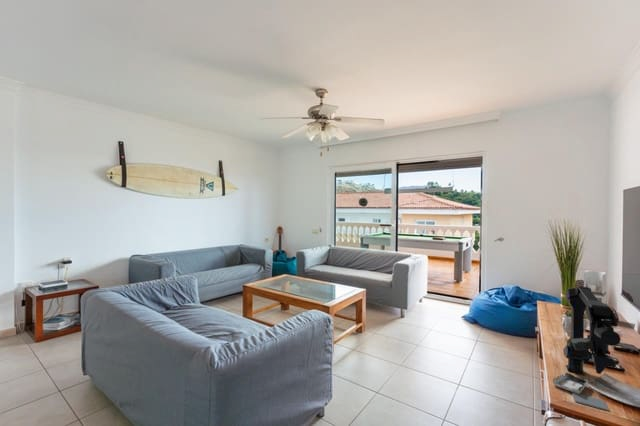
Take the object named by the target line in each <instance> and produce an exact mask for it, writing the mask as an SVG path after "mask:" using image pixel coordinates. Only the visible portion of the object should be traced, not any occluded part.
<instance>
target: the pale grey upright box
mask: <svg viewBox="0 0 640 426" xmlns="http://www.w3.org/2000/svg"><path fill="white" fill-rule="evenodd" d="M583 287H588V288H590V289H591V292H592V293H593V294H594V295H595V297H596V298H597V299H598V300H599V301H600V302H602V303H604V304H606V303H607V272H604V271H596V270H587V269H586V270H585V271H583ZM606 305H607V304H606ZM584 315H586V317H587V320H589V319H588V316H587V314H586V313H584Z"/></svg>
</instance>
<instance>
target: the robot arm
mask: <svg viewBox="0 0 640 426" xmlns="http://www.w3.org/2000/svg"><path fill="white" fill-rule="evenodd" d="M565 299H566V302H567V304H568V305H569V306H570V309H571V310H570V313H571V314H570V338H569V339H568V340H567V341H566V345H565V346H564V348H563V351H562V352H563V356H564V357H565V358H566V359H567V364H566V365H565V367H566V369H567V372H568V373H574V374H578V375H582V376H586V371H585V370H584V362H587V363H589V361H590V358H591V360H592V362H593V365H594V368H595V372H596V374H598V375H601V374H602V372H603V371H604V370H605V369H606V368H607V367H611V368H617V361H616V360H615V359H614V358H613V357H612V356H611V351H610V349H609V346H613V347H614V346H617V345H619V344H620V342H621V336H620V335H619V334H618V332H616V331H615V330H614V329H615V327H618V319H617V317H616V315H615V312H614V311H613V309H612V307H610V306H609V305H608V304H604V303H602V302H600V301H599V300H598V299H597V298H596V297H595V295H594V294H593V293H592V292H591V289H590V288H588V287H584V286H579V285H577V286H575V287H572V288H569V289H567V290H566V292H565ZM584 311H585V313H584ZM585 314H587V316H588V319H587V320H588V321H589V334H587V336H586V337H584V334H585V330H584V325H585V322H584V321H585V320H584V319H585V318H584V315H585Z"/></svg>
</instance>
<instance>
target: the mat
mask: <svg viewBox="0 0 640 426" xmlns="http://www.w3.org/2000/svg"><path fill="white" fill-rule="evenodd" d="M571 395H572V398H573V401H574V402H575V403H577V404H581V405H584V406H587V407H592V408H595V409H599V410H603V411H607V412H609V411H610V410H609V408H608V405H607V404H606V402H605V400H604V399H601V398H597V397H592V396H588V395H585V394H583V393H582V394H581V393H580V394H577V393H575V392H572V391H571Z"/></svg>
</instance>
